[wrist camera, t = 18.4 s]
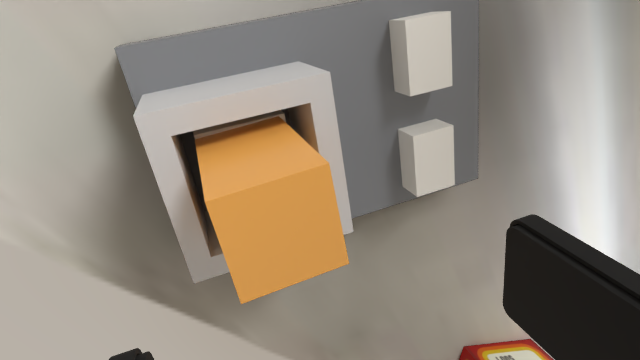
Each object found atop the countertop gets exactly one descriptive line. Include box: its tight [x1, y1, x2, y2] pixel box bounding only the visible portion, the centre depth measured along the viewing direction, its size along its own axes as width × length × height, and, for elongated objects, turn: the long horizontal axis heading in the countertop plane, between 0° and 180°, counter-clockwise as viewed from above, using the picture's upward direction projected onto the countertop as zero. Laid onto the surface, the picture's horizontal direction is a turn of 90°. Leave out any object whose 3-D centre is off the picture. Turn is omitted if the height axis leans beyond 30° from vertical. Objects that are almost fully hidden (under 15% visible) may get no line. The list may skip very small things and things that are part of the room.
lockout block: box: [195, 116, 349, 304], centre depth 19 cm, size 4×4×8 cm
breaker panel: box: [114, 0, 479, 284], centre depth 25 cm, size 22×14×8 cm, turn 100°
